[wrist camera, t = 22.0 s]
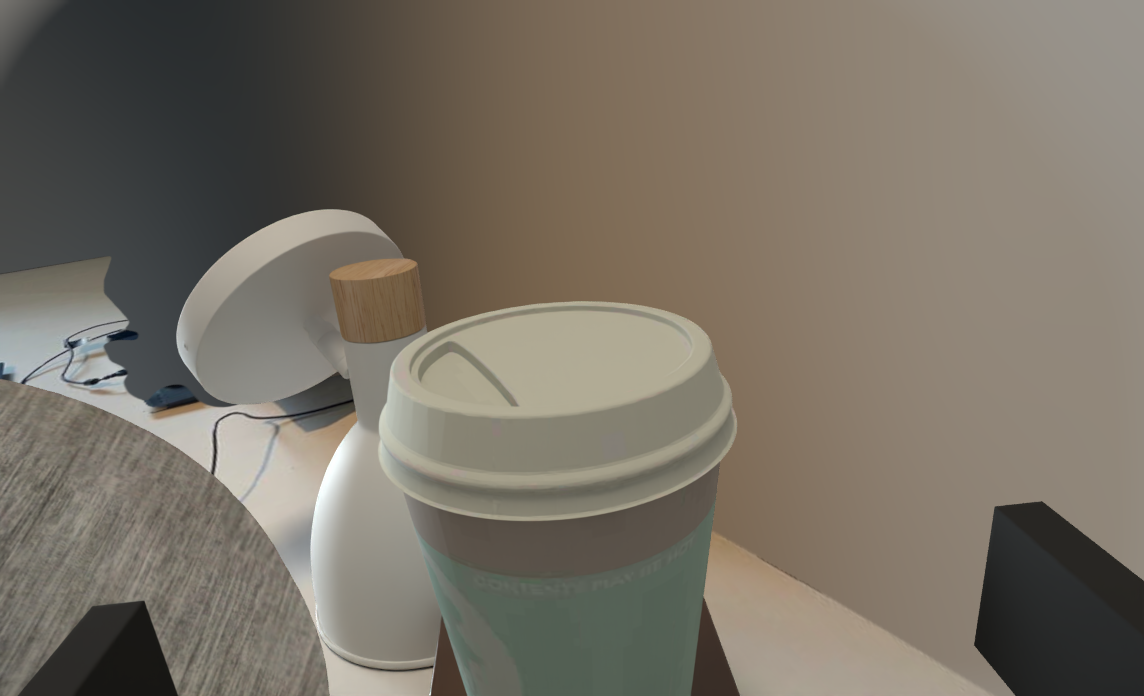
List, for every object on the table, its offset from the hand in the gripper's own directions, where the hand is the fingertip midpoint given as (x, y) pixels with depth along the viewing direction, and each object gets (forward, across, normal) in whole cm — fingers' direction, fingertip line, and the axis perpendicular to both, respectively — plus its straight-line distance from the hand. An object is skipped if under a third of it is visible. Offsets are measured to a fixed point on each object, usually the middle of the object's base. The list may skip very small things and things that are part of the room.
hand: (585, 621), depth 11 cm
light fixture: (+26, -10, -18) cm, 34 cm away
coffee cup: (+10, 0, -14) cm, 18 cm away
